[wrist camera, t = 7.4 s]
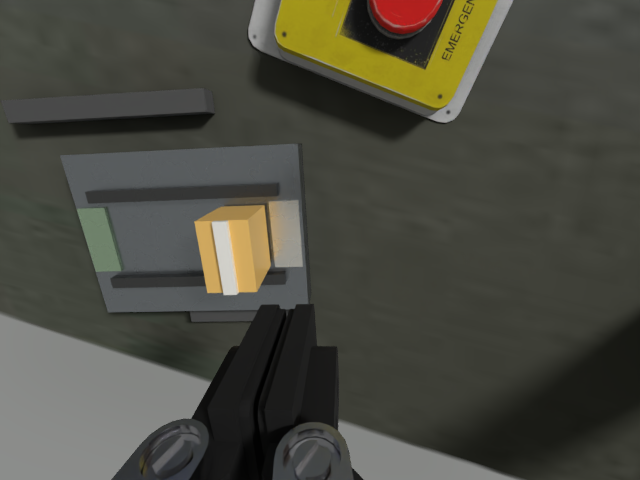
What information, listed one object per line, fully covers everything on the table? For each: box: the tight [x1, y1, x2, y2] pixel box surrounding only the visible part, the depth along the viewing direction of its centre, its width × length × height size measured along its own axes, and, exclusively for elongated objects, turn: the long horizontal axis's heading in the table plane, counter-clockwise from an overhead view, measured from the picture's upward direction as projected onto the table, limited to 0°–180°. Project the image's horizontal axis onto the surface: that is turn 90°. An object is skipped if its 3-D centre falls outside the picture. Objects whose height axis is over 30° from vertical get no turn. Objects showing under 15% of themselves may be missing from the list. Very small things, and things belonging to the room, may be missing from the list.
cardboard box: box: [194, 205, 271, 295], centre depth 19 cm, size 3×4×4 cm
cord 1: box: [1, 88, 215, 124], centre depth 21 cm, size 14×1×1 cm, turn 93°
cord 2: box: [190, 309, 289, 322], centre depth 25 cm, size 8×1×1 cm, turn 93°
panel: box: [60, 144, 311, 312], centre depth 22 cm, size 16×12×3 cm
